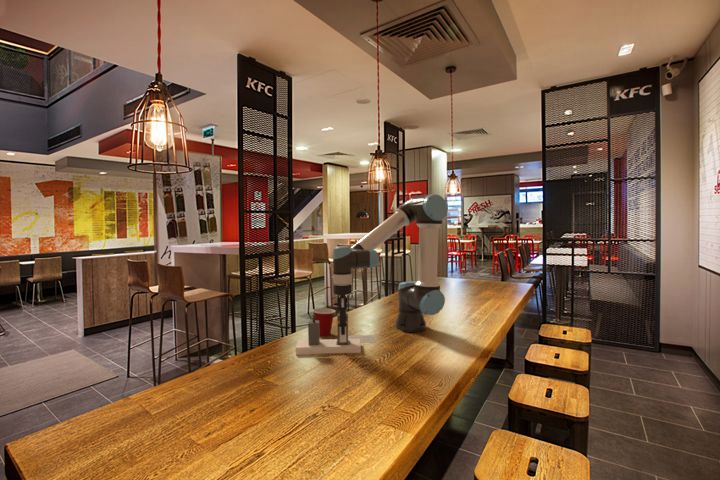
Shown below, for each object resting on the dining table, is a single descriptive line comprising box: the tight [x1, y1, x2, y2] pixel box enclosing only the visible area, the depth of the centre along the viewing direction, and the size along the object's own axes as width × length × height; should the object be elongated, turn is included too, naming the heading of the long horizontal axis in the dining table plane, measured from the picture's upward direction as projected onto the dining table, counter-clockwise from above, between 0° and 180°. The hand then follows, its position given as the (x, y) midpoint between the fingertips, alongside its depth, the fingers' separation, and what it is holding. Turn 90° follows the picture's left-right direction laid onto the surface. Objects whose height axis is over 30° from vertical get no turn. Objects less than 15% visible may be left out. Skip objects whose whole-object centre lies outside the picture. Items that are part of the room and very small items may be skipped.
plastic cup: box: [312, 307, 337, 337], centre depth 170 cm, size 11×11×12 cm
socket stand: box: [295, 313, 362, 356], centre depth 150 cm, size 26×9×15 cm, turn 92°
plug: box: [336, 312, 349, 345], centre depth 151 cm, size 4×4×12 cm
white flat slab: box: [348, 334, 376, 344], centre depth 163 cm, size 12×10×1 cm
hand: (343, 339), depth 151 cm, fingers closed on plug, 4 cm apart
